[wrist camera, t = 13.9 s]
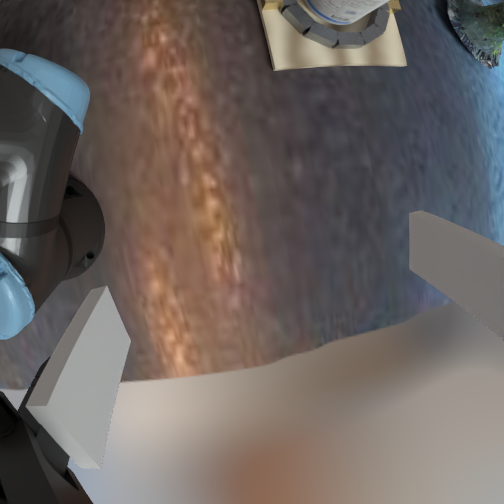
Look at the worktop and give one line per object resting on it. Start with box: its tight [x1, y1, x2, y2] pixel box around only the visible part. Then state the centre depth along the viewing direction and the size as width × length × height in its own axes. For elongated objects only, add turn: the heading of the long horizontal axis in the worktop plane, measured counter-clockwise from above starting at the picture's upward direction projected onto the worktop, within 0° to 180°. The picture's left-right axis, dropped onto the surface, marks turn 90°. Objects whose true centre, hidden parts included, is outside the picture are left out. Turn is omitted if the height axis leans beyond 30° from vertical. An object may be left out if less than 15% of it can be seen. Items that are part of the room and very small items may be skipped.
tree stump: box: [447, 0, 504, 69], centre depth 31 cm, size 18×20×18 cm
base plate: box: [257, 0, 407, 71], centre depth 34 cm, size 22×22×1 cm
